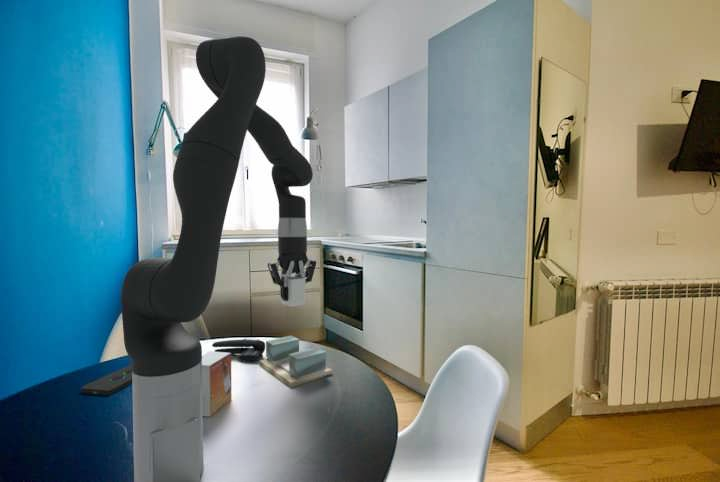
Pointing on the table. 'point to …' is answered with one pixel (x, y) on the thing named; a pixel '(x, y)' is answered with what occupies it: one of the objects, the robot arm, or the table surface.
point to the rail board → (294, 361)
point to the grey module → (295, 291)
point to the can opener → (245, 353)
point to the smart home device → (110, 382)
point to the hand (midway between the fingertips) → (293, 298)
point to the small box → (215, 381)
